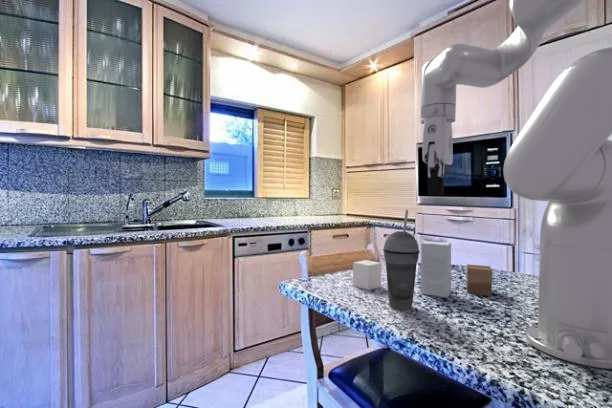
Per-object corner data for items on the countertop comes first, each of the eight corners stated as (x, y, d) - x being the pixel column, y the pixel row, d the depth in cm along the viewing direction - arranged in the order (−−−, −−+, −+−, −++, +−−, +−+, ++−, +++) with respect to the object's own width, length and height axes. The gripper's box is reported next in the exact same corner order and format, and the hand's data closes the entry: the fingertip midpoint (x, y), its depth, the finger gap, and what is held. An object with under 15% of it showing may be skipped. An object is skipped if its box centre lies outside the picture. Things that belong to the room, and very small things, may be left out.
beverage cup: (394, 298, 73) (395, 208, 72) (425, 306, 68) (426, 209, 67) (375, 306, 68) (376, 209, 67) (408, 315, 63) (409, 210, 62)
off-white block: (368, 290, 80) (368, 265, 80) (352, 285, 84) (353, 262, 83) (381, 286, 83) (381, 262, 83) (365, 282, 87) (365, 260, 87)
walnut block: (491, 296, 75) (491, 270, 75) (467, 293, 78) (467, 268, 77) (489, 290, 80) (489, 266, 80) (466, 288, 82) (467, 264, 82)
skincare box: (451, 293, 77) (452, 242, 77) (448, 298, 73) (449, 245, 73) (424, 289, 80) (425, 240, 80) (420, 294, 77) (420, 242, 76)
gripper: (448, 106, 68) (445, 195, 68) (461, 119, 80) (458, 195, 81) (411, 111, 72) (409, 194, 73) (429, 123, 84) (427, 194, 85)
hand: (435, 194), depth 77 cm, fingers closed
